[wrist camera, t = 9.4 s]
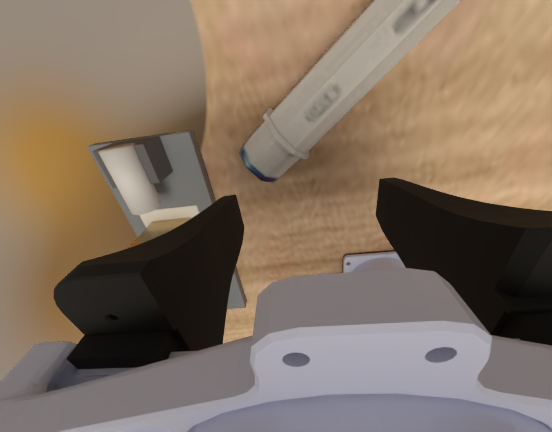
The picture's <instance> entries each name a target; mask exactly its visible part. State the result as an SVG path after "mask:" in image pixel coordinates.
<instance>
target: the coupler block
mask: <svg viewBox="0 0 552 432" xmlns="http://www.w3.org/2000/svg"><path fill="white" fill-rule="evenodd" d="M190 219H191V217H189V218H179V219H169V220H159V221H152V222H151V223H150V225H149V226H148V227H147V228H146V229H145V230H144V231H143V232H142V233H141V234H140V236H139V237H138V238H137V239H136V240H135V241H134V242H133V243H132V244H131V246H129V248H131V247H133V246H136V245H139V244H141V243H144V242H147V241H149V240H151V239H153V238H156V237H158V236H160V235H162V234H165V233H167V232H169V231H171V230H172V229H174V228H176V227H178V226H180V225H182V224H183V223H185V222H187V221H188V220H190Z"/></svg>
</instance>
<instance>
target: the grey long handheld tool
mask: <svg viewBox="0 0 552 432" xmlns="http://www.w3.org/2000/svg"><path fill="white" fill-rule="evenodd" d="M460 1H461V0H373V1H372V2H371V3H370V5H369V6H368V7H367V8H366V9H365V10H364V11H363V12H362V13H361V14H360V16H359V17H358V18H357V19H356V20H355V21H354V22H353V23H352V24H351V25H350V27H349V28H348V29H347V30H346V31H345V32H344V33H343V34H342V35H341V36H340V38H339V39H338V40H337V41H336V42H335V43H334V44H333V45H332V46H331V47H330V49H329V50H328V51H327V52H326V53H325V54H324V55H323V56H322V57H321V58H320V60H319V61H318V62H317V63H316V64H315V65H314V66H313V67H312V68H311V69H310V71H309V72H308V73H307V74H306V75H305V76H304V77H303V78H302V79H301V80H300V82H299V83H298V84H297V85H296V86H295V87H294V88H293V89H292V90H291V91H290V92H289V94H288V95H287V96H286V97H285V98H284V99H283V100H282V101H281V102H280V103H279V105H278V106H277V107H276V108H275V109H272V108H270V107H269V109H268V110H267V111H266V112H265V114H264V115H263V118H264V122H263V123H262V124H261V125H260V126H259V127H258V129H257V130H256V131H255V132H254V133H253V134H252V136H251V137H250V138H249V139H248V140H247V141H246V143H245V144H244V145H243V146H242V148H241V149H240V151H239V154H240V156H241V158H242V160H243V162H244V164H245V166H246V168H247V169H249V170H250V171H251V172H252V173H253V174H254V175H256V176H257V177H258V178H259V179H260V180H261V181H266V182H272V183H274V182H275V181H276V180H277V179H278V178H279V177H280V176H282V175H283V174H284V173H285V172H286V171H287V170H288V169H289V168H290V167H291V166H293V165H294V164H295V163H296V162H297V161H298V160H299V159H300V158H303V159H307V158H308V157H309V151H310V149H311V148H312V147H313V146H314V145H315V144H316V143H317V142H318V141H319V140H320V139H321V138H322V137H323V136H324V135H325V134H326V133H327V132H328V131H329V130H330V129H331V128H332V127H333V126H334V125H335V124H336V123H337V122H338V121H339V120H340V119H341V118H342V117H343V116H344V115H345V114H346V113H347V112H348V111H349V110H350V109H351V108H352V107H353V106H354V105H355V104H356V103H357V102H358V101H359V100H360V99H361V98H362V97H363V96H364V95H365V94H367V93H368V92H369V91H370V90H371V89H372V88H373V87H374V86H375V85H376V84H377V83H378V82H379V81H380V80H381V79H382V78H383V77H384V76H385V75H386V74H387V73H388V72H389V71H390V70H391V69H392V68H393V67H394V66H395V65H396V64H397V63H398V62H399V61H400V60H401V59H402V58H403V57H404V56H405V55H406V54H407V53H408V52H409V51H410V50H411V49H412V48H413V47H414V46H415V45H416V44H417V43H418V42H419V41H420V40H421V39H422V38H423V37H424V36H425V35H426V34H427V33H428V32H429V31H430V30H431V29H432V28H433V27H434V26H435V25H436V24H437V23H438V22H439V21H440V20H441V19H442V18H443V17H445V16H446V15H447V14H448V13H449V12H450V11H451V10H452V9H453V8H454V7H455V6H456V5H457V4H458V3H459V2H460Z"/></svg>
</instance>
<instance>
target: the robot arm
mask: <svg viewBox="0 0 552 432" xmlns="http://www.w3.org/2000/svg"><path fill="white" fill-rule="evenodd" d="M376 217H377V219H378V222H379V224H380V226H381V229H382V231H383V232H384V234H385V236H386V237H387V239H388V240H389V242H390V244H391V245H392V247H393V248H394V250H395V251H393V252H381V253H368V254H355V255H346V256H345V257H344V258H343V273H333V274H319V275H304V276H294V277H290V278H287V279H283V280H279V281H276V282H272V283H271V284H270V285H269V286H268V287H267V288H265V289H264V290H263V291H262V292H261V293H260V294H259V295H258V298H257V306H256V314H255V322H254V330H253V336H249V337H246V338H242V339H238V340H235V341H231V342H228V343H224V344H223V335H224V327H225V318H226V311H227V304H228V298H229V292H230V286H231V281H232V277H233V274H234V270H235V267H236V263H237V260H238V256H239V253H240V249H241V246H242V242H243V234H244V224H243V220H242V217H241V213H240V209H239V205H238V201H237V197H236V195H230V196H224V197H222V198H220V199H219V200H217V201H216V202H214V203H213V204H212V205H210V206H209V207H207V208H206V209H205V210H203V211H202V212H200V213H199V214H197V215H196V216H194V217H193V218H191V219H190V220H188V221H187V222H185V223H183V224H182V225H180V226H178V227H176V228H174V229H172V230H171V231H169V232H167V233H165V234H162V235H160V236H158V237H156V238H153V239H151V240H149V241H147V242H144V243H141V244H139V245H136V246H133V247H131V248H128V249H125V250H122V251H119V252H116V253H112V254H109V255H105V256H102V257H98V258H95V259H91V260H87V261H84V262H82V263H80V264H79V265H78V266H77V267H76V268H75V269H73V270H72V271H71V272H70V273H69V274H68V275H67V276H66V277H65V278H64V279H62V281H60V282H59V283H58V284H57V286H56V287H55V289H54V300H55V302H56V304H57V306H58V307H59V309H60V310H61V311H62V313H63V314H64V315H65V316H66V317H67V318H68V319H69V320H70V321H71V322H72V323H73V324H74V325H75V326H76V327H77V328H79V330H80V331H81V332H82V333H83V334H85V335H84V337H83V338H82V339H81V340H80V342H79V343H78V344H75V343H72V342H66V341H63V342H41V343H37V344H35V345H34V346H33V347H32V348H31V349H30V350H29V351H28V352H27V353H26V354H25V355H24V356H23V357H22V359H21V360H20V361H19V362H18V363H17V364H16V365H15V366H14V367H13V368H12V369H11V370H10V371H9V372H8V373H7V375H6V376H5V377H4V378H3V379H2V380H1V381H0V432H552V211H542V210H532V209H523V208H516V207H509V206H502V205H495V204H489V203H484V202H479V201H474V200H470V199H465V198H461V197H457V196H453V195H450V194H446V193H442V192H439V191H436V190H433V189H429V188H426V187H423V186H420V185H417V184H414V183H411V182H408V181H405V180H402V179H398V178H385V179H380V181H379V190H378V199H377V209H376ZM347 262H349V263H347Z"/></svg>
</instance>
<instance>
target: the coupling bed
mask: <svg viewBox="0 0 552 432" xmlns="http://www.w3.org/2000/svg"><path fill="white" fill-rule="evenodd" d="M87 148H88V150H89V151H90V153H91V155H92V157H93V159H94V160H95V162H96V163H97V166H98V167H99V169H100V171H101V173H102V174H103V176H104V178H105V180H106V182H107V183H108V185H109V187H110V189H111V190H112V192H113V194H114V196H115V198H116V199H117V201H118V203H119V205H120V206H121V208H122V210H123V212H124V213H125V215H126V217H127V219H128V221H129V222H130V224H131V226H132V228H133V229H134V231H135V233H136V235H137V236H138V237H139V236H140V234H141V233H142V232H143V231H144V230H145V229H146V228H147V227H148V226H149V225H150V223H151V222H152V221H159V220H169V219H179V218H189V217H191V218H193V217H194V216H196V215H197V214H199V213H200V212H202V211H203V210H205V209H206V208H207V207H209V206H210V205H212V204H213V203H214V202H216V201H215V198H214V195H213V191H212V188H211V185H210V182H209V179H208V175H207V172H206V169H205V166H204V162H203V159H202V156H201V153H200V150H199V146H198V143H197V140H196V137H195V134H194V130H187V131H180V132H173V133H166V134H159V135H152V136H145V137H138V138H131V139H124V140H117V141H110V142H103V143H96V144H93V145H90V146H87ZM246 302H247V301H246V298H245V294H244V291H243V288H242V285H241V281H240V278H239V275H238V272H237V269H236V267H235V270H234V274H233V277H232V281H231V286H230V292H229V298H228V304H227V309H232V308H246Z"/></svg>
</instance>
